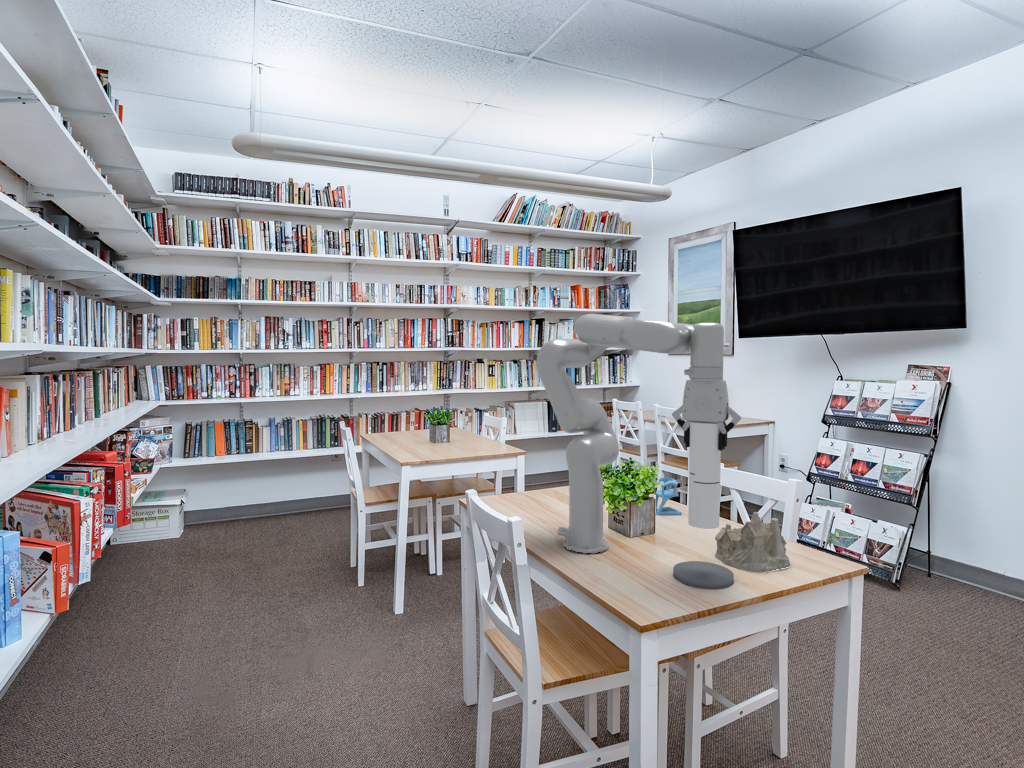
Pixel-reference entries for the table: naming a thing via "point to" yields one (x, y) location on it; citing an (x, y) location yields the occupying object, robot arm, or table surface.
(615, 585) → the table surface
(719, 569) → the coaster
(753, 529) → the ceramic cottage
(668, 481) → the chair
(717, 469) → the cylindrical container
